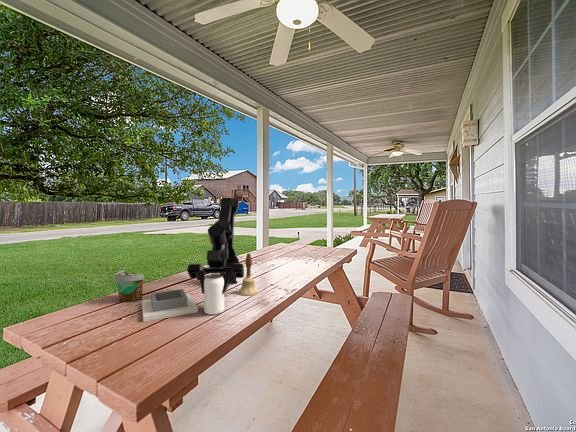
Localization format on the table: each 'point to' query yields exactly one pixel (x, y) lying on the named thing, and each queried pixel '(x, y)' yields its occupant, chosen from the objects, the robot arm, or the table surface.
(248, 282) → the hand bell
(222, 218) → the robot arm
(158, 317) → the socket board
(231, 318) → the table surface
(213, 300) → the can
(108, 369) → the table surface
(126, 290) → the food container
